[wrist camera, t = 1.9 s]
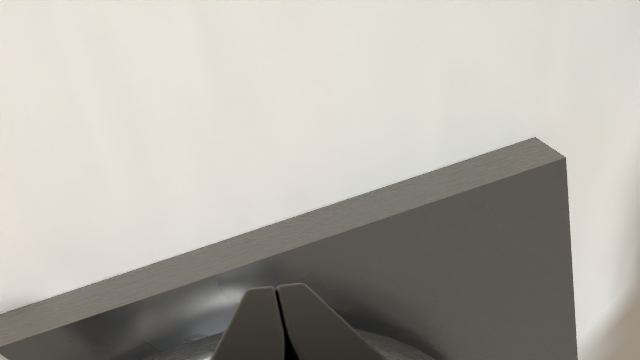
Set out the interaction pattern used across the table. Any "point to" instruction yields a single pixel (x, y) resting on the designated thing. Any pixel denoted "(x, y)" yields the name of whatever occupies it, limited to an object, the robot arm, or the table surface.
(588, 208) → the table surface
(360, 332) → the grey rounded piece
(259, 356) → the robot arm
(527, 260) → the cap housing
